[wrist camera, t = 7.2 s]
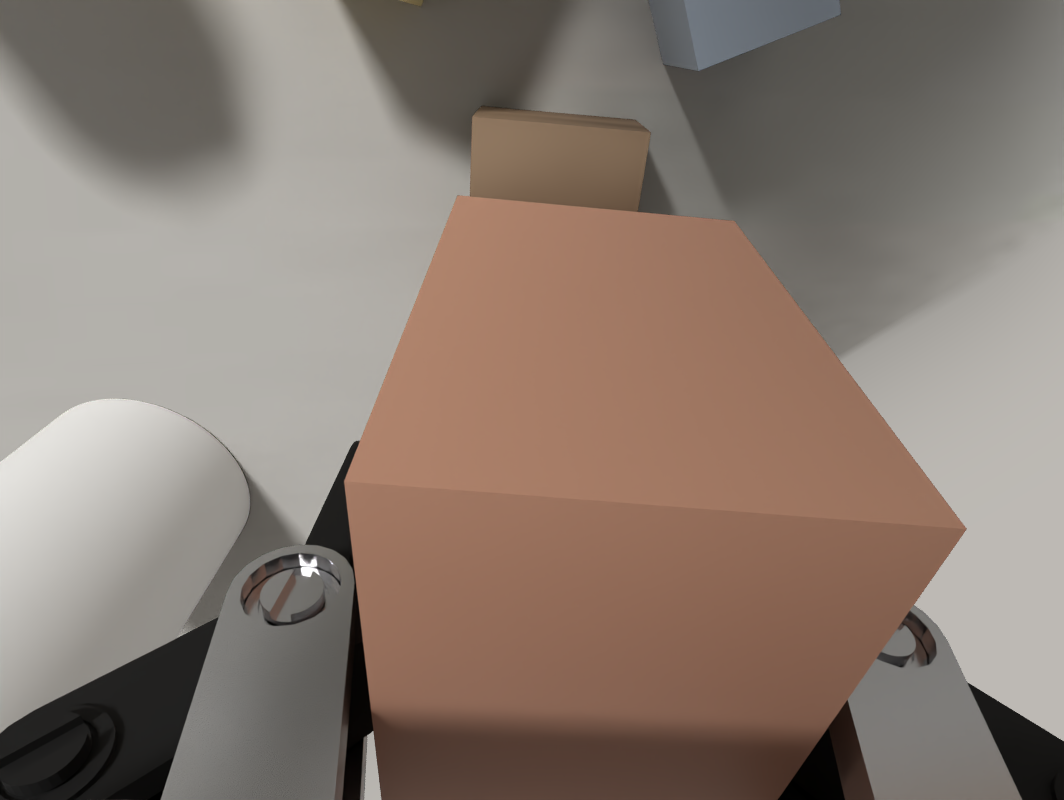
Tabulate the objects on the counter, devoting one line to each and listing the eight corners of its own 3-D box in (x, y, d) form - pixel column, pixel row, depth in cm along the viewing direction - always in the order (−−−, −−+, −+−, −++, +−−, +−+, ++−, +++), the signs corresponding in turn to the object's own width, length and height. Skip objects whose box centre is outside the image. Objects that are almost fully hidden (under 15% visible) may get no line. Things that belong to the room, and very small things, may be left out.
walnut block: (481, 105, 24) (472, 116, 21) (634, 118, 24) (650, 132, 21) (474, 299, 28) (465, 336, 25) (606, 309, 28) (615, 347, 25)
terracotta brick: (457, 194, 9) (343, 481, 4) (734, 220, 9) (966, 529, 4) (451, 535, 13) (392, 889, 8) (642, 549, 13) (702, 906, 8)
